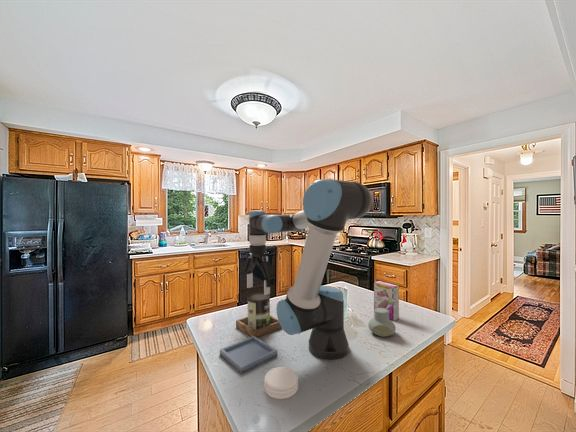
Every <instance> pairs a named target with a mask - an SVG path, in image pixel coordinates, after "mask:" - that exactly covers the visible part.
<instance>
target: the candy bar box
mask: <svg viewBox="0 0 576 432" xmlns="http://www.w3.org/2000/svg"><path fill="white" fill-rule="evenodd" d="M399 289H400V287H399V285H396V284H393V283H389V282H386V281H381V280H378V281H374V282H373V310H374V309H376V308H385V309H387V310H388V311H389V320H391V321H392V322H395V321H397V320H399V319H400V299H399V298H400V295H399V294H400V292H399V291H400V290H399Z"/></svg>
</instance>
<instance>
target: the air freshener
mask: <svg viewBox="0 0 576 432" xmlns="http://www.w3.org/2000/svg"><path fill="white" fill-rule="evenodd" d="M373 314H374V315H373V318H371V319H370V320H369V321H368V328H369V331H371V332H372V333H373V334H375V335H377V336H379V337H381V338H385V337H390V336H392V335H393V334H394V333H395V332H396V324H395V323H394V321H392V320H389V311H388V310H387V309H385V308H376V309H374V308H373Z"/></svg>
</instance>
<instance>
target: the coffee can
mask: <svg viewBox="0 0 576 432" xmlns="http://www.w3.org/2000/svg"><path fill="white" fill-rule="evenodd" d="M270 297H271V296H270V294H267V295H264V292H263V293H262V292H261V293H259V292H258V293H253V294H249V295H247V297H246V299H247V317H248V324H247V326H249V327H251V328H252V329H254V330H257V329H259V328H262V327H265V326H267V325H270V324H271V323H270V316H271V309H270V308H271V306H270V305H271V304H270V302H271V300H270Z"/></svg>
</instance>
